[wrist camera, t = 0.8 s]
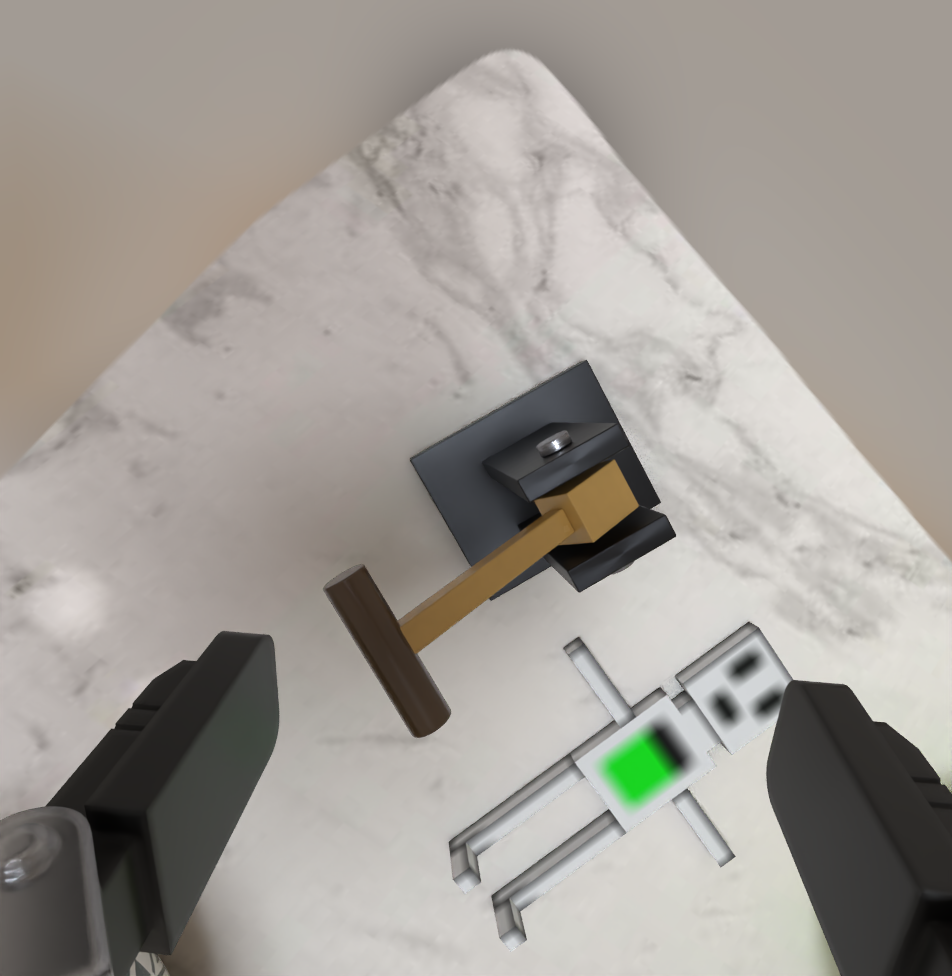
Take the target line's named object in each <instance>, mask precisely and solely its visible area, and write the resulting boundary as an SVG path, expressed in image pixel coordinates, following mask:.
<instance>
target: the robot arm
mask: <svg viewBox="0 0 952 976" xmlns="http://www.w3.org/2000/svg"><path fill="white" fill-rule="evenodd" d="M278 728H279V701H278V688H277V675H276V662H275V649H274V643H273V639H272V637H271V636H270V635H264V634H252V633H240V632H228V631H222V632H220V633H219V634H218V635H217V636H216V637H215V638H214V640H213V641H212V642H211V643H210V645H209V646H208V647H207V649H206V650H205V651H204V652H203V654H202V655H201V656H200V657H199V659H198V660H197V661H187V660H183V661H181V662H180V663H178V664H176V665H175V666H173V667H172V668H170V669H169V670H167V671H166V672H164V673H162V674H161V675H159V676H158V677H156V678H155V679H153V680H152V681H151V682H150V684H149V685H148V686H147V687H146V688H145V690H144V691H143V692H142V693H141V694H140V695H139V697H138V698H137V699H136V700H135V701H134V703H133V706H132V708H128V710H127V711H126V712H125V713H124V714H123V716H122V717H121V718H120V719H119V720H118V721H117V723H116V726H115V729H111V730H110V731H109V732H108V733H107V734H106V736H105V737H104V738H103V739H102V740H101V741H100V743H99V744H98V745H97V746H96V747H95V749H94V750H93V751H92V752H91V753H90V754H89V756H88V757H87V758H86V759H85V760H84V762H83V763H82V764H81V765H80V766H79V767H78V769H77V770H76V771H75V772H74V773H73V774H72V776H71V777H70V778H69V779H68V780H67V782H66V783H65V784H64V785H63V786H62V787H61V789H60V790H59V791H58V792H57V793H56V795H55V796H54V797H53V798H52V799H51V800H50V802H49V803H48V804H47V805H46V806H45V807H40V808H34V809H29V810H26V811H22V812H19V813H16V814H14V815H11V816H9V817H6V818H4V819H2V820H0V976H126V975H127V973H128V972H129V970H130V968H131V966H132V964H133V962H134V961H135V959H136V957H137V955H138V953H139V952H146V953H155V954H163V955H171V954H172V952H173V950H174V948H175V946H176V944H177V942H178V940H179V938H180V936H181V934H182V932H183V930H184V928H185V926H186V924H187V922H188V920H189V918H190V916H191V914H192V912H193V910H194V908H195V906H196V904H197V902H198V900H199V898H200V896H201V894H202V892H203V890H204V888H205V886H206V884H207V882H208V880H209V878H210V876H211V874H212V872H213V870H214V868H215V866H216V864H217V862H218V860H219V858H220V856H221V854H222V852H223V850H224V848H225V846H226V844H227V842H228V840H229V838H230V836H231V835H232V833H233V831H234V829H235V827H236V825H237V823H238V821H239V819H240V817H241V815H242V813H243V811H244V809H245V807H246V805H247V803H248V801H249V799H250V797H251V795H252V793H253V791H254V789H255V787H256V785H257V783H258V781H259V779H260V777H261V775H262V773H263V771H264V769H265V767H266V765H267V763H268V761H269V759H270V757H271V755H272V752H273V749H274V746H275V743H276V739H277V734H278ZM766 776H767V788H768V794H769V798H770V802H771V805H772V808H773V810H774V812H775V815H776V817H777V820H778V822H779V825H780V827H781V830H782V832H783V835H784V837H785V839H786V842H787V844H788V847H789V849H790V852H791V854H792V857H793V859H794V862H795V864H796V866H797V869H798V871H799V874H800V876H801V879H802V881H803V884H804V886H805V889H806V891H807V893H808V896H809V898H810V901H811V903H812V906H813V908H814V911H815V913H816V916H817V918H818V920H819V923H820V925H821V928H822V930H823V933H824V935H825V938H826V940H827V943H828V945H829V947H830V950H831V952H832V955H833V957H834V960H835V962H836V965H837V967H838V970H839V972H840V975H841V976H952V794H951V793H950V791H949V790H948V788H947V787H946V786H945V785H941V783H940V778H939V776H938V775H937V773H936V772H935V771H934V769H933V768H932V767H931V765H930V764H929V763H928V761H927V760H926V758H925V757H924V756H923V754H922V753H921V752H920V750H919V749H918V748H917V747H915V746H914V745H913V744H912V743H910V742H909V741H908V740H907V739H905V738H904V737H903V736H902V735H900V734H899V733H898V732H897V731H895V730H894V729H893V728H892V727H890V726H889V725H888V724H887V723H885V722H874V721H872V719H871V718H870V716H869V715H868V713H867V712H866V710H865V709H864V708H863V706H862V705H861V703H860V702H859V700H858V699H857V697H856V696H855V694H854V693H853V691H852V690H851V689H850V688H849V687H848V686H847V685H844V684H834V683H822V682H810V681H798V680H792V681H790V682H789V683H788V685H787V686H786V689H785V692H784V695H783V699H782V703H781V707H780V711H779V715H778V719H777V723H776V727H775V732H774V736H773V740H772V744H771V748H770V752H769V756H768V761H767V771H766Z"/></svg>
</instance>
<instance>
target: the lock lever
mask: <svg viewBox="0 0 952 976" xmlns="http://www.w3.org/2000/svg"><path fill="white" fill-rule="evenodd" d="M534 502H535V504H536V505H537V507H538V509H539V511H540V513H541V515H542V516H541V517H539V518H538V519H537V520H535V521H534V522H533V523H531V524H530V525H528V526H527V527H526V528H524V529H523V530H522V531H520V532H519V533H517V534H516V535H515V536H513V537H512V538H511V539H509V540H508V541H506V542H505V543H504V544H502V545H501V546H500V547H498V548H497V549H495V550H494V551H493V552H491V553H490V554H489V555H487V556H486V557H484V558H483V559H482V560H480V561H479V562H478V563H476V564H475V565H473V566H472V567H471V568H469V569H468V570H467V571H465V572H464V573H462V574H461V575H460V576H458V577H457V578H456V579H454V580H453V581H452V582H450V583H449V584H447V585H446V586H445V587H443V588H442V589H441V590H439V591H438V592H436V593H435V594H434V595H432V596H431V597H430V598H428V599H427V600H425V601H424V602H423V603H421V604H420V605H419V606H417V607H416V608H414V609H413V610H412V611H410V612H409V613H408V614H406V615H405V616H403V617H402V618H401V619H399V620H397V619H396V617H395V615H394V614H393V612H392V610H391V609H390V607H389V605H388V604H387V602H386V600H385V599H384V597H383V595H382V594H381V592H380V590H379V589H378V587H377V585H376V584H375V582H374V580H373V579H372V577H371V575H370V574H369V572H368V570H367V569H366V567H365V565H363V564H359V565H356V566H354V567H352V568H350V569H348V570H346V571H344V572H342V573H341V574H339V575H338V576H336V577H335V578H333V579H332V580H330V581H329V582H328V583H327V584H326V585H325V586H324V587H323V591H324V592H325V594H326V596H327V597H328V599H329V600H330V602H331V604H332V605H333V607H334V609H335V610H336V612H337V614H338V615H339V617H340V618H341V620H342V622H343V623H344V625H345V627H346V628H347V630H348V632H349V633H350V635H351V636H352V638H353V640H354V641H355V643H356V645H357V646H358V648H359V650H360V651H361V653H362V654H363V656H364V658H365V659H366V661H367V663H368V664H369V666H370V667H371V669H372V671H373V672H374V674H375V676H376V677H377V679H378V681H379V682H380V684H381V685H382V687H383V689H384V690H385V692H386V694H387V695H388V697H389V699H390V700H391V702H392V703H393V705H394V707H395V708H396V710H397V712H398V713H399V715H400V717H401V718H402V720H403V721H404V723H405V725H406V726H407V728H408V730H409V731H410V733H411V735H412V736H413V737H415V738H421V737H425V736H427V735H429V734H431V733H433V732H435V731H436V730H438V729H439V728H440V727H441V726H443V725H444V724H445V723H446V721H447V720H448V719H449V717H450V715H451V709H450V707H449V706H448V704H447V702H446V701H445V699H444V697H443V696H442V694H441V692H440V691H439V689H438V687H437V686H436V684H435V682H434V681H433V679H432V677H431V676H430V674H429V672H428V671H427V669H426V667H425V666H424V664H423V662H422V661H421V659H420V657H419V656H418V654H417V653H418V652H419V651H421V650H422V649H423V648H425V647H426V646H427V645H429V644H430V643H431V642H432V641H434V640H435V639H436V638H438V637H439V636H440V635H442V634H443V633H444V632H445V631H447V630H448V629H449V628H451V627H452V626H453V625H455V624H456V623H457V622H459V621H460V620H461V619H462V618H464V617H465V616H466V615H468V614H469V613H470V612H472V611H473V610H474V609H475V608H477V607H478V606H479V605H481V604H482V603H483V602H485V601H486V600H487V599H488V598H490V597H491V596H492V595H494V594H495V593H496V592H498V591H499V590H500V589H502V588H503V587H504V586H505V585H507V584H508V583H509V582H511V581H512V580H513V579H515V578H516V577H517V576H518V575H520V574H521V573H522V572H524V571H525V570H526V569H528V568H529V567H530V566H531V565H533V564H534V563H535V562H537V561H538V560H539V559H541V558H542V557H543V556H544V555H546V554H547V553H548V552H550V551H551V550H552V549H554V548H555V547H556V546H558V545H569V544H581V543H593V542H595V541H596V540H597V539H599V538H600V537H601V536H602V535H604V534H605V533H606V532H608V531H609V530H610V529H611V528H613V527H614V526H615V525H616V524H618V523H619V522H620V521H621V520H623V519H624V518H625V517H626V516H628V515H629V514H630V513H632V512H633V511H634V510H635V509H637V508H638V507H639V505H638V503H637V501H636V499H635V497H634V495H633V493H632V491H631V490H630V488H629V486H628V484H627V482H626V480H625V478H624V476H623V474H622V472H621V470H620V469H619V467H618V465H617V463H616V461H615V460H609V461H605V462H601V463H599V464H597V465H595V466H594V467H592V468H590V469H589V470H587V471H585V472H583V473H582V474H580V475H578V476H576V477H575V478H573V479H571V480H569V481H568V482H566V483H564V484H562V485H561V486H559V487H557V488H555V489H554V490H552V491H550V492H548V493H547V494H545V495H543V496H541V497H540V498H538V499H536V500H534Z"/></svg>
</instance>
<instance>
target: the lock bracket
mask: <svg viewBox="0 0 952 976" xmlns="http://www.w3.org/2000/svg"><path fill="white" fill-rule="evenodd" d="M609 460H615V461H616V463H617V465H618V467H619V469H620V470H621V472H622V474H623V476H624V478H625V480H626V482H627V484H628V486H629V488H630V490H631V491H632V493H633V495H634V497H635V499H636V501H637V503H638V505H639V507H638V508H637V509H635V510H634V511H633V512H632V513H630V514H629V515H628V516H626V517H625V518H624V519H623V520H621V521H620V522H619V523H618V524H616V525H615V526H614V527H613V528H611V529H610V530H609V531H608V532H606V533H605V534H604V535H602V536H601V537H600V538H599V539H597V540H596V541H595V542H593V543H581V544H569V545H558V546H556V547H555V548H554V549H552V550H551V551H550V552H548V553H547V554H546V555H544V556H543V557H542V558H541V559H539V560H538V561H537V562H535V563H534V564H533V565H531V566H530V567H529V568H528V569H526V570H525V571H524V572H522V573H521V574H520V575H518V576H517V577H516V578H515V579H513V580H512V581H511V582H509V583H508V584H507V585H505V586H504V587H503V588H502V589H500V590H499V591H498V592H496V593H495V594H494V595H492V596H491V597H490V598H489V599H490V600H491V601H492V600H494V599H495V598H497V597H499V596H501V595H502V594H504V593H506V592H507V591H509V590H511V589H513V588H514V587H516V586H518V585H520V584H521V583H523V582H525V581H526V580H528V579H530V578H532V577H533V576H535V575H537V574H539V573H540V572H542V571H544V570H545V569H547V568H549V567H551V566H552V567H553V568H554V569H555V570H556V571H557V572H558V573H559V574H560V575H561V576H562V577H563V578H564V579H565V580H567V581H568V582H569V583H570V584H571V585H572V586H573V587H574V588H575V589H576V590H577V591H578V592H581V591H583V590H585V589H587V588H588V587H590V586H592V585H594V584H595V583H597V582H599V581H600V580H602V579H604V578H606V577H607V576H609V575H611V574H615V573H618V572H621V571H623V570H625V569H626V568H628V567H629V566H630V565H631V564H632V563H633V562H634V561H635V560H637V559H638V558H640V557H642V556H643V555H645V554H647V553H649V552H650V551H652V550H654V549H655V548H657V547H659V546H661V545H662V544H664V543H666V542H667V541H669V540H671V539H673V538H674V537H676V534H675V532H674V530H673V528H672V526H671V524H670V522H669V520H668V518H667V516H666V515H665V514H662V513H659V512H657V511H654V510H651V508H653V507H654V506H656V505H658V504H660V503H661V501H660V499H659V497H658V496H657V494H656V492H655V490H654V488H653V486H652V484H651V482H650V480H649V478H648V476H647V474H646V472H645V471H644V469H643V467H642V465H641V463H640V461H639V459H638V457H637V455H636V453H635V451H634V449H633V448H632V446H631V444H630V442H629V440H628V438H627V436H626V434H625V432H624V430H623V428H622V426H621V424H620V423H619V421H618V419H617V417H616V415H615V413H614V411H613V409H612V407H611V405H610V403H609V401H608V399H607V398H606V396H605V394H604V392H603V390H602V388H601V386H600V384H599V382H598V380H597V378H596V376H595V374H594V373H593V371H592V369H591V367H590V365H589V363H588V361H587V360H585V361H582V362H580V363H578V364H576V365H574V366H573V367H571V368H569V369H567V370H566V371H564V372H562V373H560V374H558V375H557V376H555V377H553V378H551V379H550V380H548V381H546V382H544V383H543V384H541V385H539V386H537V387H535V388H534V389H532V390H530V391H528V392H527V393H525V394H523V395H521V396H520V397H518V398H516V399H514V400H512V401H511V402H509V403H507V404H505V405H504V406H502V407H500V408H498V409H496V410H495V411H493V412H491V413H489V414H488V415H486V416H484V417H482V418H481V419H479V420H477V421H475V422H473V423H472V424H470V425H468V426H466V427H465V428H463V429H461V430H459V431H457V432H456V433H454V434H452V435H450V436H449V437H447V438H445V439H443V440H442V441H440V442H438V443H436V444H434V445H433V446H431V447H429V448H427V449H426V450H424V451H422V452H420V453H419V454H417V455H415V456H413V457H411V458H410V461H411V463H412V464H413V466H414V468H415V470H416V471H417V473H418V475H419V476H420V478H421V480H422V482H423V483H424V485H425V487H426V489H427V490H428V492H429V494H430V496H431V497H432V499H433V501H434V503H435V504H436V506H437V508H438V510H439V511H440V513H441V515H442V517H443V518H444V520H445V522H446V524H447V525H448V527H449V529H450V531H451V532H452V534H453V536H454V538H455V539H456V541H457V543H458V545H459V546H460V548H461V550H462V552H463V553H464V555H465V557H466V559H467V560H468V562H469V564H470V566H471V567H472V566H473V565H475V564H476V563H478V562H479V561H480V560H482V559H483V558H484V557H486V556H487V555H489V554H490V553H491V552H493V551H494V550H495V549H497V548H498V547H500V546H501V545H502V544H504V543H505V542H506V541H508V540H509V539H511V538H512V537H513V536H515V535H516V534H517V533H519V532H520V531H522V530H523V529H524V528H526V527H527V526H528V525H530V524H531V523H533V522H534V521H535V520H537V519H538V518H539V517H541V516H542V515H541V513H540V511H539V509H538V507H537V505H536V504H535V502H534V500H536V499H538V498H540V497H541V496H543V495H545V494H547V493H548V492H550V491H552V490H554V489H555V488H557V487H559V486H561V485H562V484H564V483H566V482H568V481H569V480H571V479H573V478H575V477H576V476H578V475H580V474H582V473H583V472H585V471H587V470H589V469H590V468H592V467H594V466H595V465H597V464H599V463H601V462H605V461H609Z"/></svg>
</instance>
